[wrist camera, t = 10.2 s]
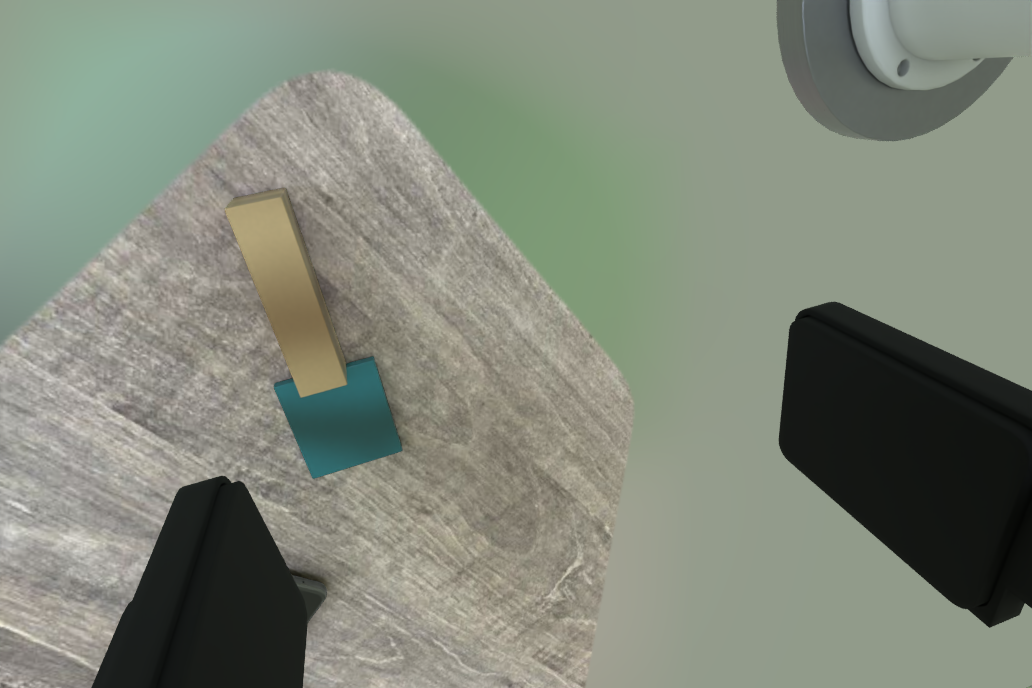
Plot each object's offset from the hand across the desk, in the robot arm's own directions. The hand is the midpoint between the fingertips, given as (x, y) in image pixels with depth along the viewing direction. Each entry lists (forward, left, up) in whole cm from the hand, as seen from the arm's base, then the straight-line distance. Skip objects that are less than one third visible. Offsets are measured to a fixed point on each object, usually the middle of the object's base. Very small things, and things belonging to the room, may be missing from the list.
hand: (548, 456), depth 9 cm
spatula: (+6, +5, -19) cm, 21 cm away
